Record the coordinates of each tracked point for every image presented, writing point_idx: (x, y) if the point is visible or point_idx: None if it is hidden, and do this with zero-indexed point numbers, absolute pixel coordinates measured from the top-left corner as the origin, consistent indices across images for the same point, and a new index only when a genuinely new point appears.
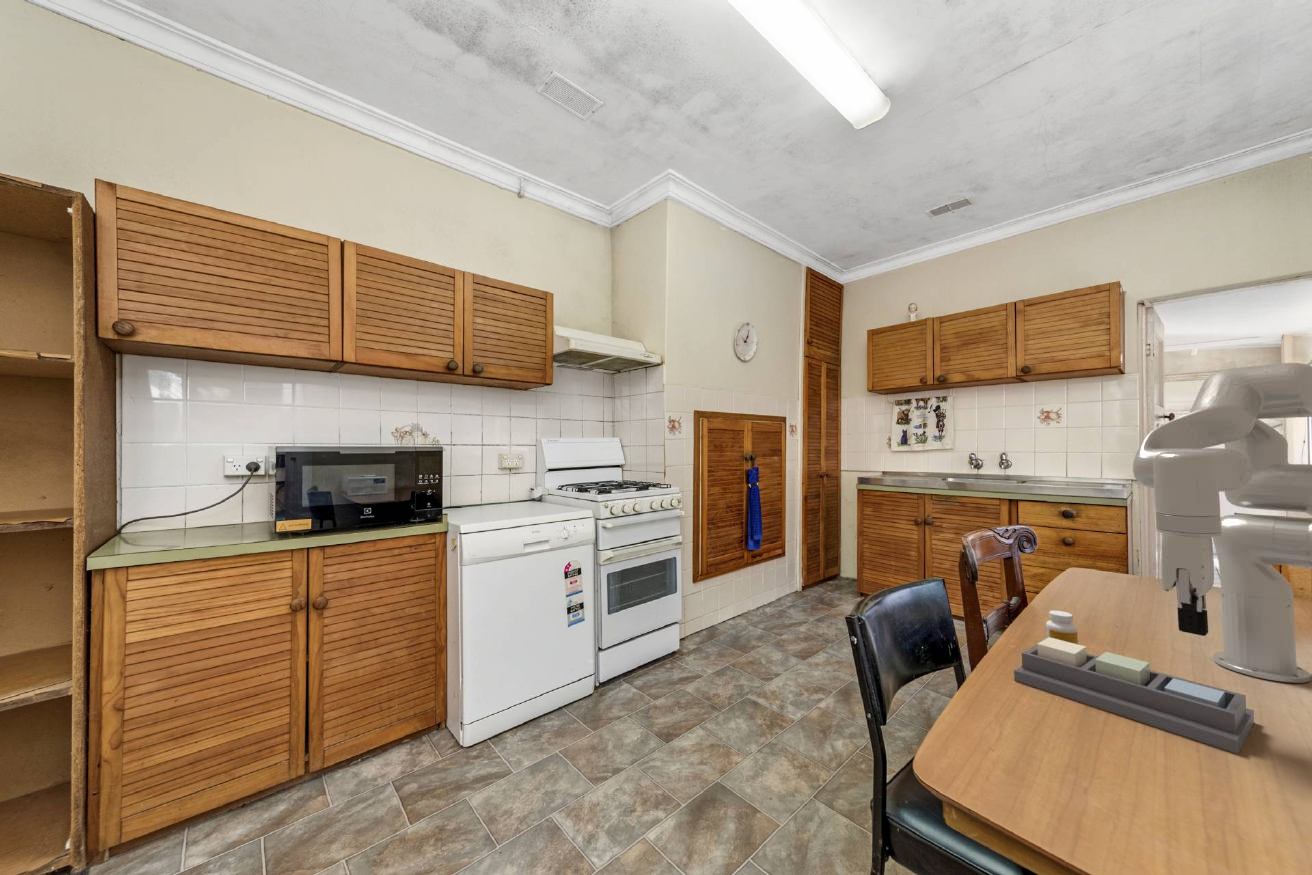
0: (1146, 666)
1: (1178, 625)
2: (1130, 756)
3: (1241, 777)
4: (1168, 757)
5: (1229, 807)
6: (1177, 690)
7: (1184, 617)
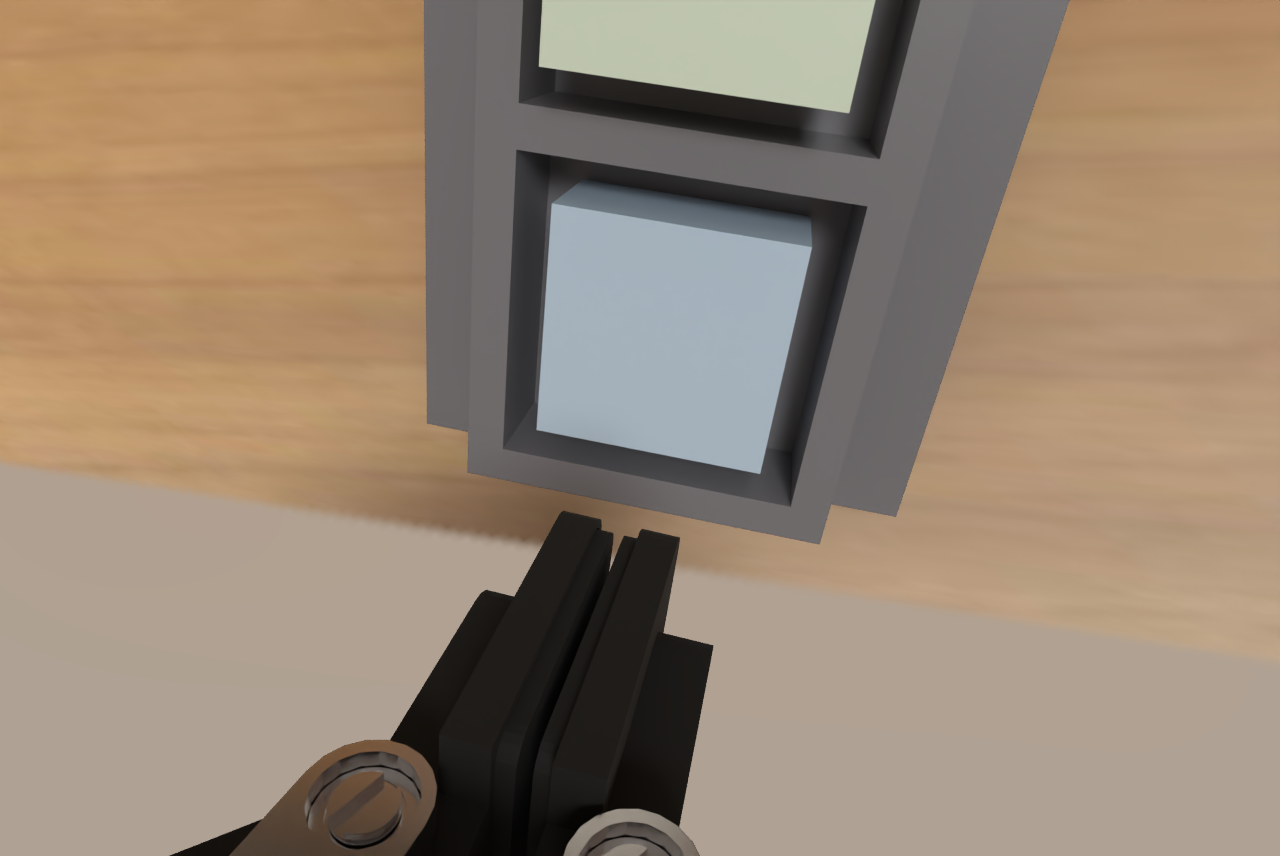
0: (747, 97)
1: (549, 538)
2: (33, 58)
3: (256, 388)
4: (176, 187)
5: (10, 342)
6: (563, 268)
7: (435, 681)
